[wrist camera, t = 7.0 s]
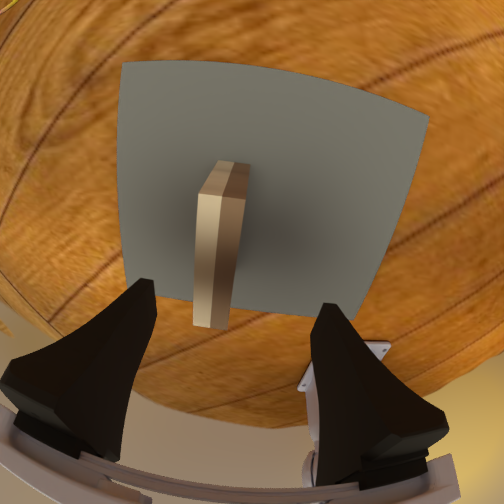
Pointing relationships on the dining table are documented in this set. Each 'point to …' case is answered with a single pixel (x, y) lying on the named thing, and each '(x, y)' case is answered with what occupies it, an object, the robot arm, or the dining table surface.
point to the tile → (218, 242)
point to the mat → (263, 179)
